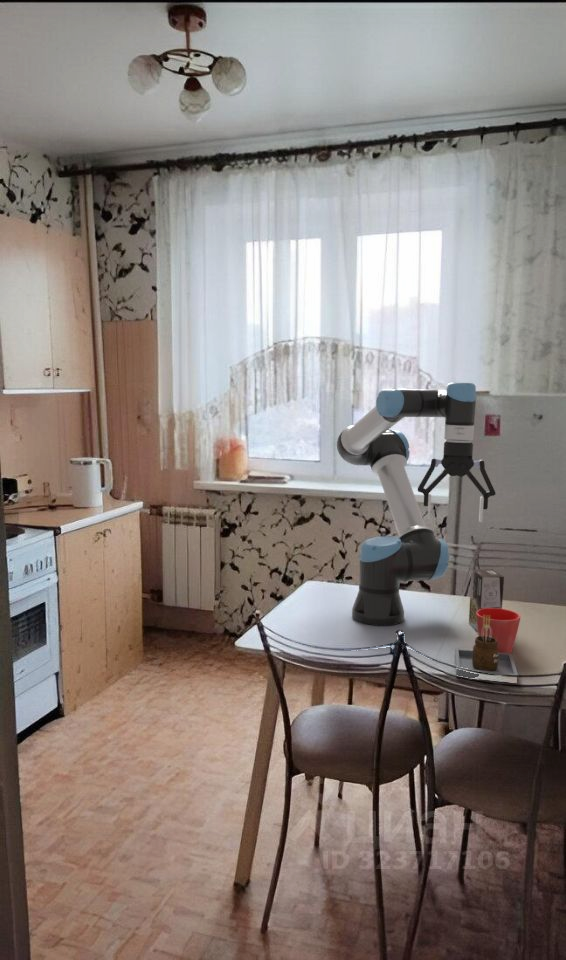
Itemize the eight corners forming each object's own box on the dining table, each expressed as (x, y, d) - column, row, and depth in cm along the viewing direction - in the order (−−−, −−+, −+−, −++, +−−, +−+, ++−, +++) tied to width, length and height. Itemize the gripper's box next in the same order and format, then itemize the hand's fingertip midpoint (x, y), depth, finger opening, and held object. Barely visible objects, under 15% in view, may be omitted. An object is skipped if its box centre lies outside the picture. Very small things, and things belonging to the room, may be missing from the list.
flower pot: (470, 641, 186) (473, 606, 184) (513, 643, 185) (515, 608, 183) (477, 656, 175) (479, 619, 174) (522, 659, 174) (525, 621, 173)
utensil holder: (472, 670, 164) (475, 621, 163) (471, 661, 170) (474, 613, 169) (498, 673, 163) (501, 624, 162) (496, 663, 169) (499, 615, 168)
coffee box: (501, 633, 192) (505, 576, 190) (478, 633, 192) (482, 576, 190) (489, 622, 201) (492, 568, 199) (467, 622, 201) (470, 568, 199)
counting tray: (456, 677, 162) (456, 669, 161) (454, 656, 175) (455, 648, 175) (517, 684, 159) (518, 675, 159) (511, 661, 172) (511, 653, 172)
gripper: (410, 440, 184) (407, 519, 187) (509, 443, 179) (504, 525, 181) (411, 438, 191) (408, 514, 194) (506, 441, 186) (501, 519, 189)
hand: (454, 519), depth 188 cm, fingers open, 13 cm apart
